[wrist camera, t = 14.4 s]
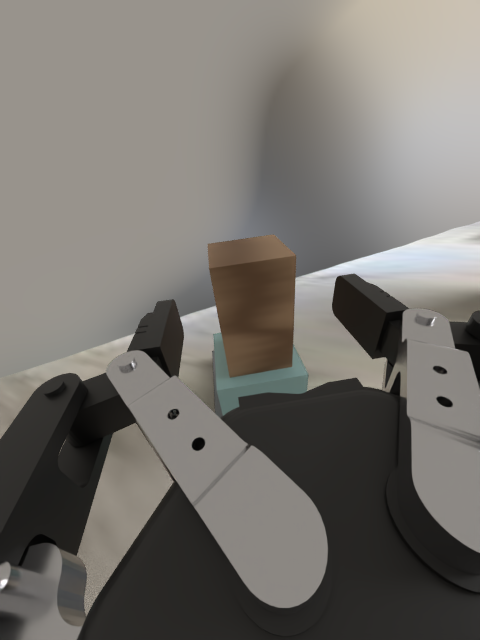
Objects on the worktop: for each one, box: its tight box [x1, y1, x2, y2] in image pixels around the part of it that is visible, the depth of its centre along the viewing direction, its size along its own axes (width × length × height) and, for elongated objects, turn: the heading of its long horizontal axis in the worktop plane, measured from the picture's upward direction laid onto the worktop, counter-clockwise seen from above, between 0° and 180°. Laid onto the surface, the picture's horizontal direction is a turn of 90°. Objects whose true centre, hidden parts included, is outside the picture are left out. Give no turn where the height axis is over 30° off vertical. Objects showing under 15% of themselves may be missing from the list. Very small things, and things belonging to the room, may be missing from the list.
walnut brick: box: [208, 235, 296, 378], centre depth 18 cm, size 5×5×9 cm
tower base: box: [212, 333, 308, 418], centre depth 22 cm, size 9×16×7 cm, turn 7°
